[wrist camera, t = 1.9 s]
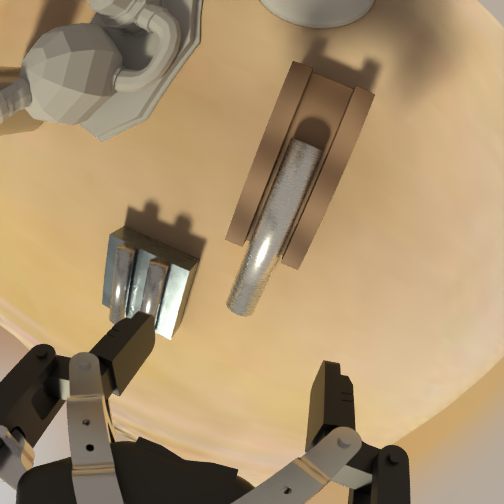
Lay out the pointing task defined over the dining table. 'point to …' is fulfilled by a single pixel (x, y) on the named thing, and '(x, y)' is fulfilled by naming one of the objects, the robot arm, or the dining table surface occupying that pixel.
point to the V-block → (147, 280)
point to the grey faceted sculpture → (106, 65)
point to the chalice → (319, 11)
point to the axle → (274, 225)
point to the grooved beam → (313, 133)
